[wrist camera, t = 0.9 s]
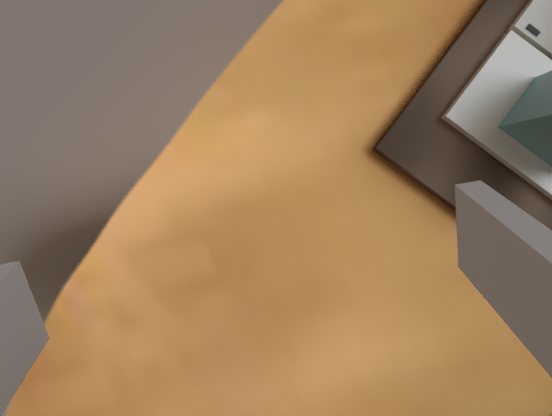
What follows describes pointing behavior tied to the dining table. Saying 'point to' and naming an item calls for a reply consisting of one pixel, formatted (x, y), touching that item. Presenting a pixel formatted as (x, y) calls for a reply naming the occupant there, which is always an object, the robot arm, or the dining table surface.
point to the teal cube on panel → (510, 110)
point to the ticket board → (440, 95)
